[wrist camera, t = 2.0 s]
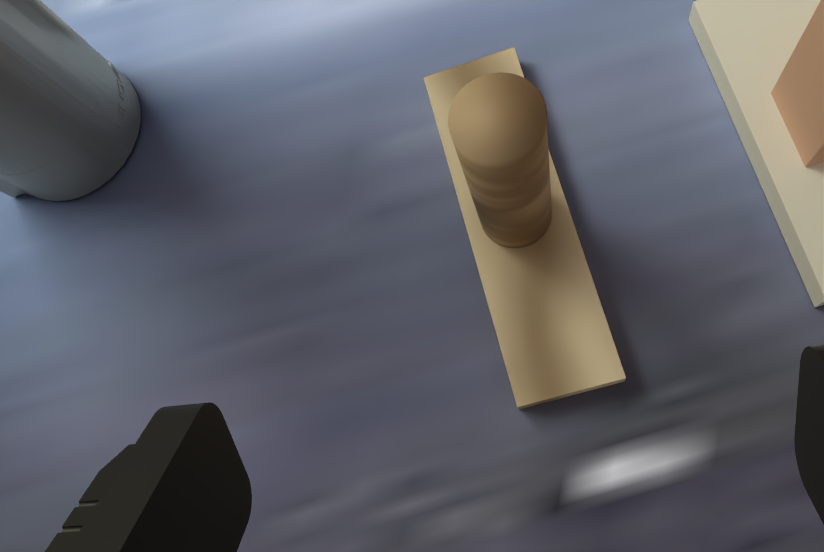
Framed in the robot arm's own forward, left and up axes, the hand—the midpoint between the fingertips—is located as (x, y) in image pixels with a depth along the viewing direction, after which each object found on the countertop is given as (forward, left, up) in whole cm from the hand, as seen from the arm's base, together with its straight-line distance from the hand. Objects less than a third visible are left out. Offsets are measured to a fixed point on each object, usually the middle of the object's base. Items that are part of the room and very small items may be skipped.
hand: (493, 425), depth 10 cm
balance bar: (+2, +11, -24) cm, 27 cm away
